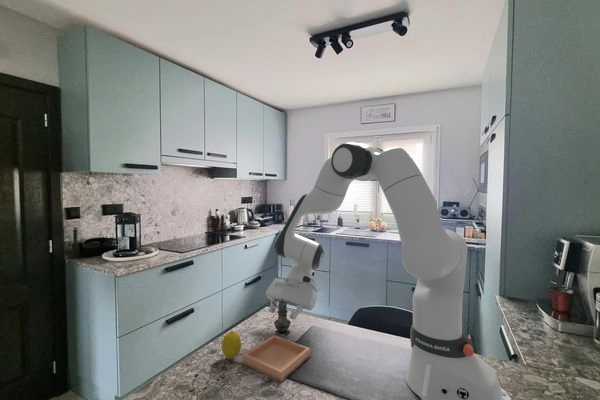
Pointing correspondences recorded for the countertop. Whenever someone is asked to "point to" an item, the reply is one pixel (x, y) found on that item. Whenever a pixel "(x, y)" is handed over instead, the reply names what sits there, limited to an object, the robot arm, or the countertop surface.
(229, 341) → the lemon
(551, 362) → the countertop surface
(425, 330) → the robot arm
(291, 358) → the tray
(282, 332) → the dark grey chess piece
